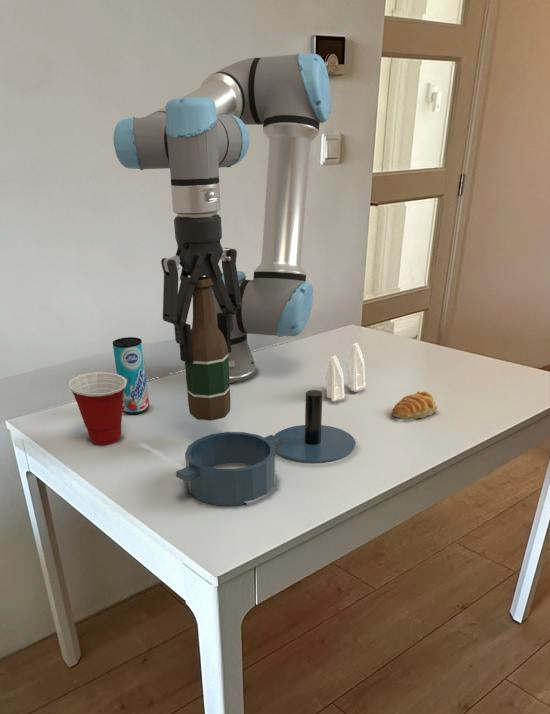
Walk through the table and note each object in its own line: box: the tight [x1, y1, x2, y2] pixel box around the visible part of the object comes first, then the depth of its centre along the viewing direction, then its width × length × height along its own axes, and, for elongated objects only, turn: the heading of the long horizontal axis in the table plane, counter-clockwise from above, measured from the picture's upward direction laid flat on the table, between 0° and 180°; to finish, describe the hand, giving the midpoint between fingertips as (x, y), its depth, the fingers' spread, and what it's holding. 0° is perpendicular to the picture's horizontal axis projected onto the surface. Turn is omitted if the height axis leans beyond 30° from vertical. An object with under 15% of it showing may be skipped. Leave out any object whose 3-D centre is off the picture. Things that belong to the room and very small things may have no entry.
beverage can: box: [112, 336, 150, 415], centre depth 132 cm, size 6×6×15 cm
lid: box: [273, 389, 356, 464], centre depth 115 cm, size 16×16×11 cm
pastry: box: [392, 391, 438, 420], centre depth 128 cm, size 9×7×4 cm
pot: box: [175, 431, 280, 507], centre depth 105 cm, size 15×20×6 cm
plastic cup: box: [67, 371, 127, 446], centre depth 121 cm, size 11×11×12 cm
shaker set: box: [325, 342, 367, 402], centre depth 137 cm, size 12×4×11 cm, turn 129°
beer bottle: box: [184, 276, 231, 422], centre depth 111 cm, size 8×8×24 cm
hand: (206, 355), depth 111 cm, fingers closed on beer bottle, 8 cm apart
